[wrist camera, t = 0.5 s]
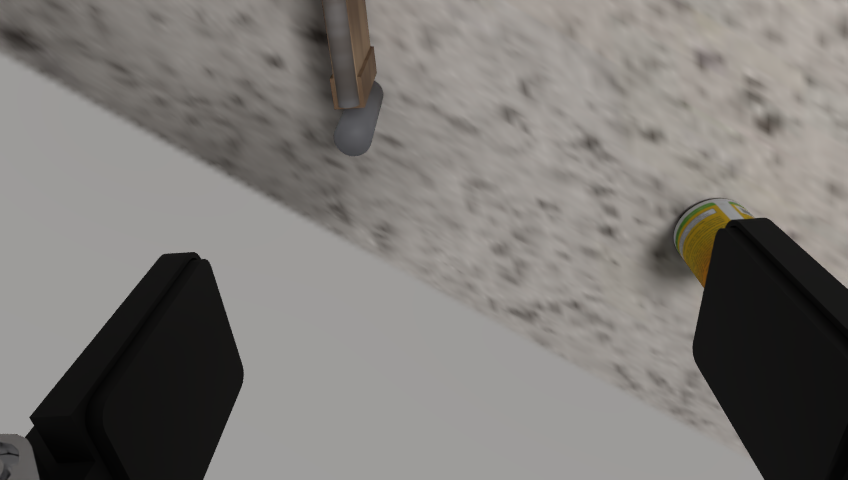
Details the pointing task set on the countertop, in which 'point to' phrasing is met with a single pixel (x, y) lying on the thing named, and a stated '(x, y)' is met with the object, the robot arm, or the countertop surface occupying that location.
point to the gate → (349, 52)
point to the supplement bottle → (704, 232)
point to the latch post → (359, 125)
